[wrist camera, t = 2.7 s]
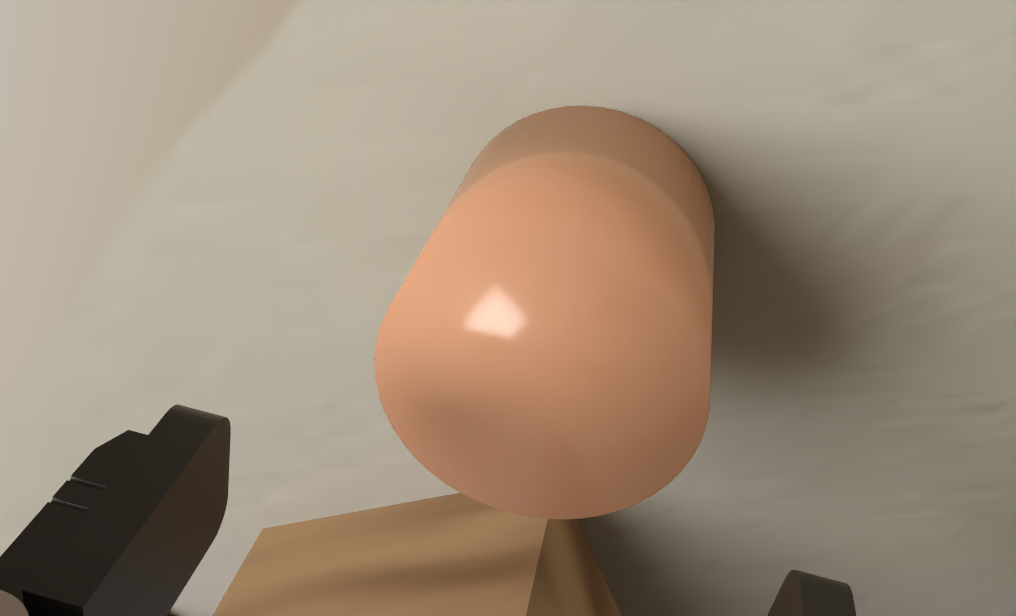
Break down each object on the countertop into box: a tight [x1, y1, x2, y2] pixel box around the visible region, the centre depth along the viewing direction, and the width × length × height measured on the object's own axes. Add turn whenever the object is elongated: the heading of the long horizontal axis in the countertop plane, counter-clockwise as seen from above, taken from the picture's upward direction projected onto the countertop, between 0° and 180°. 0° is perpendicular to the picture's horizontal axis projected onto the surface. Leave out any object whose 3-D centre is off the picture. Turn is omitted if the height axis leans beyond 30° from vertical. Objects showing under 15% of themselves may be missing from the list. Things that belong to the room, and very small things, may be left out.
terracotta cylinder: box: [374, 106, 715, 519], centre depth 18 cm, size 6×6×6 cm
